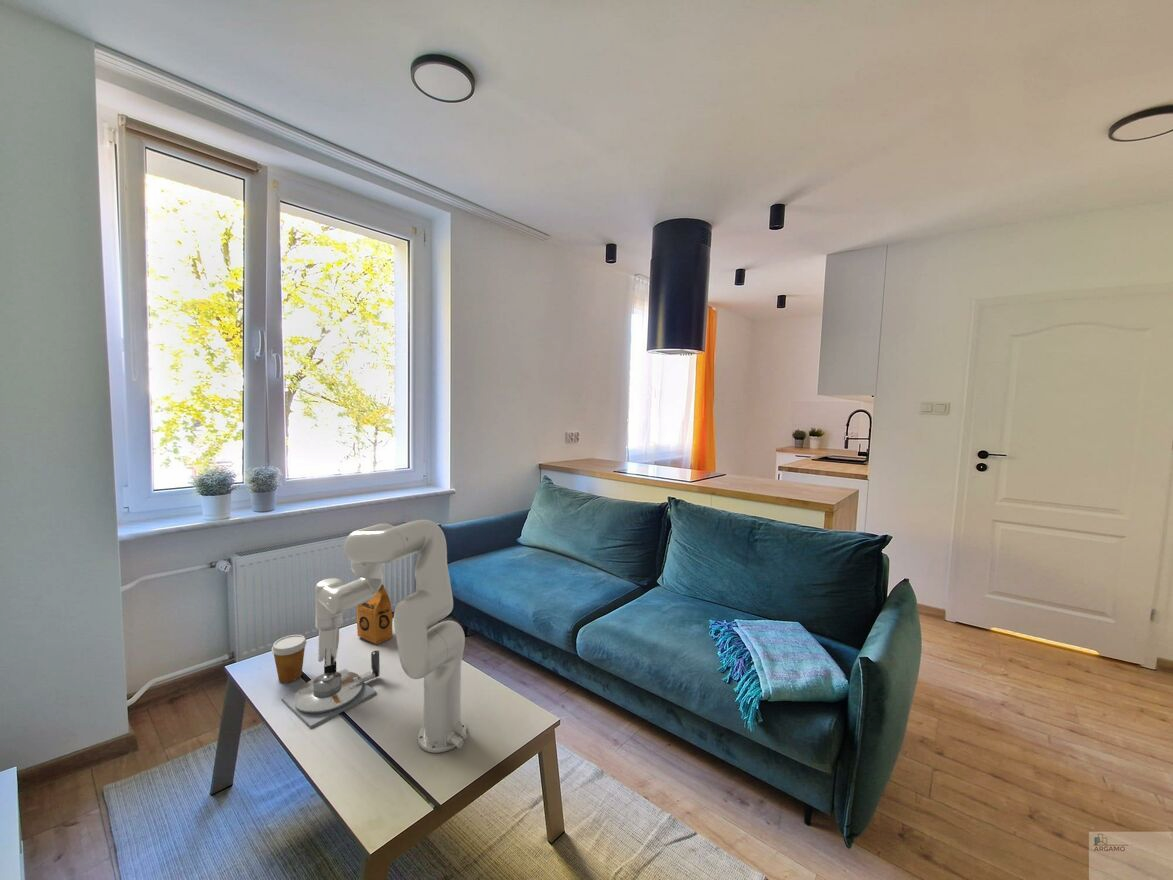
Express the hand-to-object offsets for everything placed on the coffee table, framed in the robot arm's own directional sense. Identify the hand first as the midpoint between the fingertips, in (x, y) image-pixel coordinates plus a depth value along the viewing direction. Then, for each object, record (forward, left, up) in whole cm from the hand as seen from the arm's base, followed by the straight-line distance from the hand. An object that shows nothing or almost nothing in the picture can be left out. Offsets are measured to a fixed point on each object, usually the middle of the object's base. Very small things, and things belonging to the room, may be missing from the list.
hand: (330, 675), depth 144 cm
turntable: (-5, 0, -3) cm, 6 cm away
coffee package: (+17, -25, -4) cm, 30 cm away
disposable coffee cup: (+15, +5, -4) cm, 17 cm away
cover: (-5, +3, -1) cm, 6 cm away
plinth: (-5, +2, -4) cm, 7 cm away
